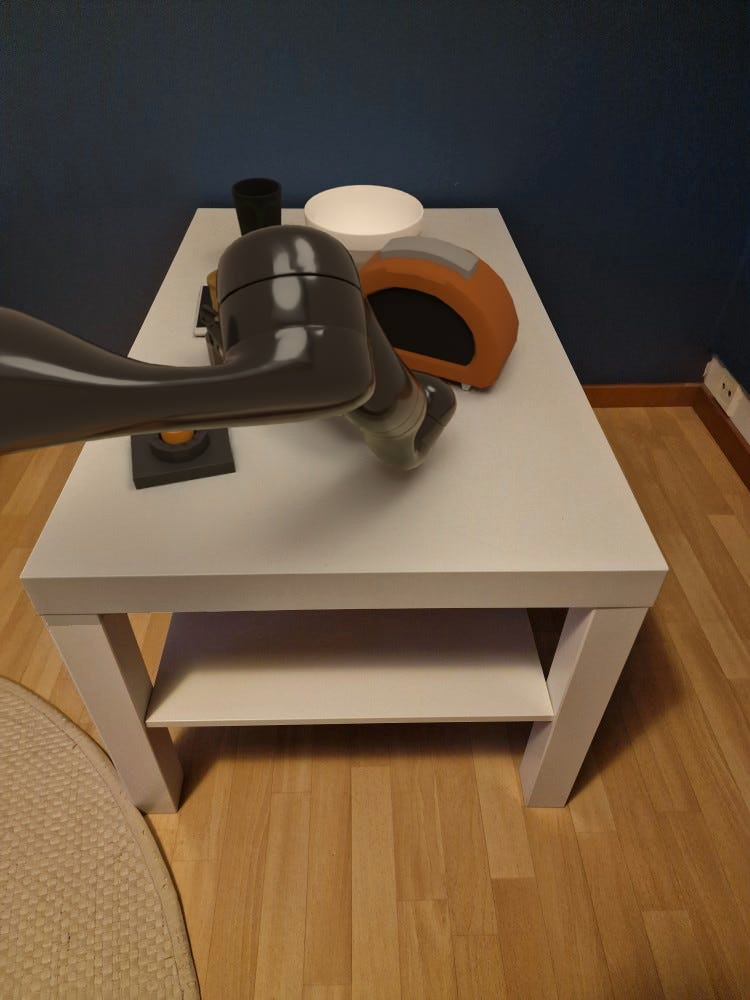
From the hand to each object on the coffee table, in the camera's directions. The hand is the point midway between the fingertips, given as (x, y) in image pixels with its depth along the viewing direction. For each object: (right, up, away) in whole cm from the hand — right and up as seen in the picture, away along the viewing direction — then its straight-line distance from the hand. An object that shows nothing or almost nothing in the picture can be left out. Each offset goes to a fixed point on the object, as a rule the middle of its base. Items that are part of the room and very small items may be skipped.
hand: (220, 304), depth 89 cm
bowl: (+18, +14, +25) cm, 34 cm away
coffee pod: (+2, -6, +4) cm, 8 cm away
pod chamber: (+2, -7, +4) cm, 8 cm away
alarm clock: (+26, -6, +5) cm, 28 cm away
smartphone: (-3, +3, +14) cm, 14 cm away
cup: (+2, +14, +25) cm, 28 cm away
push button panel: (-2, -20, -9) cm, 22 cm away
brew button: (-2, -18, -11) cm, 21 cm away
